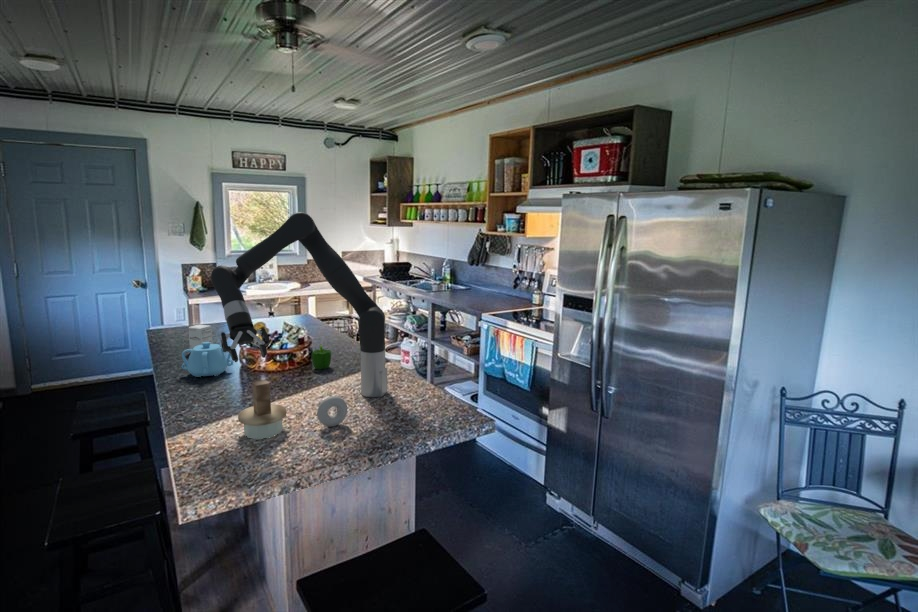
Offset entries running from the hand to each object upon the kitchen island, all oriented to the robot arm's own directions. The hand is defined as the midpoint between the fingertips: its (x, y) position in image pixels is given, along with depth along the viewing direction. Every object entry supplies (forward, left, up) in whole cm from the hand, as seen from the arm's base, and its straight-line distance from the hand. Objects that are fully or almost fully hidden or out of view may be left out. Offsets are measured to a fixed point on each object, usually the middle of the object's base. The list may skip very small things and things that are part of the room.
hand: (250, 358), depth 161 cm
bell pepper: (+5, -58, -22) cm, 62 cm away
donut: (-26, -3, -22) cm, 34 cm away
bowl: (-7, +6, -21) cm, 23 cm away
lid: (-7, +6, -16) cm, 19 cm away
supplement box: (+72, -67, -22) cm, 101 cm away
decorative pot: (+47, -39, -22) cm, 65 cm away
